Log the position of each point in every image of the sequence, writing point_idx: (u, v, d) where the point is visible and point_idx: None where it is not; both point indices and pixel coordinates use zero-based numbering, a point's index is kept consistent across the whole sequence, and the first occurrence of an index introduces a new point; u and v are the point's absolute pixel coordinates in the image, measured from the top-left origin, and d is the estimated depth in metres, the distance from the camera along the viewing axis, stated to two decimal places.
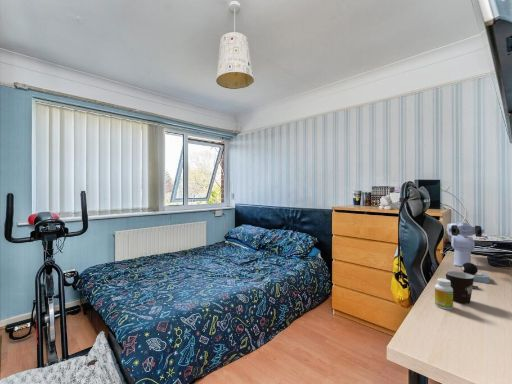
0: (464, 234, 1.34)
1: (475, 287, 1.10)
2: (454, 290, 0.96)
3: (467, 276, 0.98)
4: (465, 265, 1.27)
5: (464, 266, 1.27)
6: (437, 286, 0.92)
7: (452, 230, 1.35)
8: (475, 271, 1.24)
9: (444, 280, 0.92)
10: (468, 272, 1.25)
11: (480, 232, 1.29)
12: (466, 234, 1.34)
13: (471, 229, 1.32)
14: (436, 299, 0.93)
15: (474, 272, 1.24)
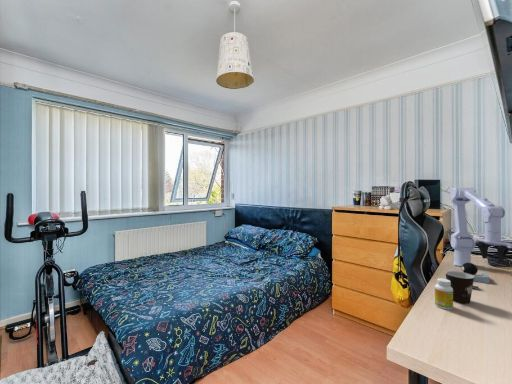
0: None
1: (475, 287, 1.10)
2: (454, 290, 0.96)
3: (467, 276, 0.98)
4: (465, 265, 1.27)
5: (464, 266, 1.27)
6: (437, 286, 0.92)
7: None
8: (475, 271, 1.24)
9: (444, 280, 0.92)
10: (468, 272, 1.25)
11: (506, 248, 1.15)
12: None
13: (497, 244, 1.17)
14: (436, 299, 0.93)
15: (474, 272, 1.24)
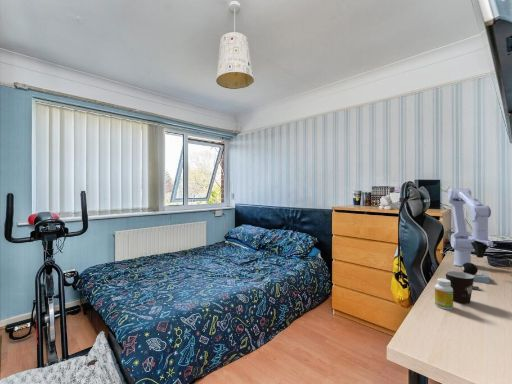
0: None
1: (476, 288, 1.09)
2: (454, 290, 0.96)
3: (467, 276, 0.98)
4: (465, 265, 1.27)
5: (464, 266, 1.27)
6: (437, 286, 0.92)
7: None
8: (475, 271, 1.24)
9: (444, 280, 0.92)
10: (468, 272, 1.25)
11: None
12: None
13: (481, 242, 1.23)
14: (436, 299, 0.93)
15: (474, 272, 1.24)
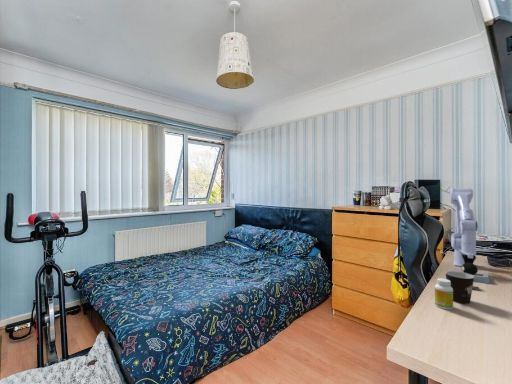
0: None
1: (476, 288, 1.09)
2: (454, 290, 0.96)
3: (467, 276, 0.98)
4: (465, 265, 1.27)
5: (464, 266, 1.27)
6: (437, 286, 0.92)
7: None
8: (475, 271, 1.24)
9: (444, 280, 0.92)
10: (468, 272, 1.25)
11: (470, 257, 1.28)
12: None
13: (467, 254, 1.29)
14: (436, 299, 0.93)
15: (474, 272, 1.24)
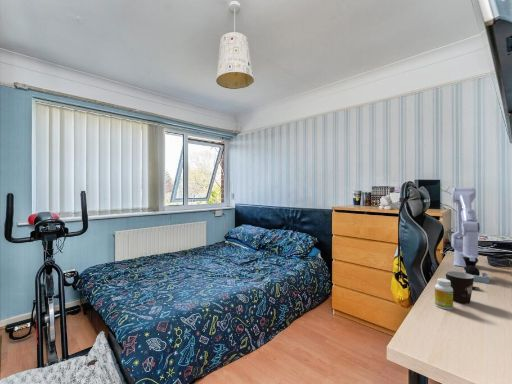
0: None
1: (476, 288, 1.09)
2: (454, 290, 0.96)
3: (467, 276, 0.98)
4: (467, 268, 1.22)
5: (466, 269, 1.22)
6: (437, 286, 0.92)
7: None
8: (477, 274, 1.19)
9: (444, 280, 0.92)
10: None
11: (472, 260, 1.24)
12: None
13: (469, 257, 1.24)
14: (436, 299, 0.93)
15: (476, 275, 1.19)
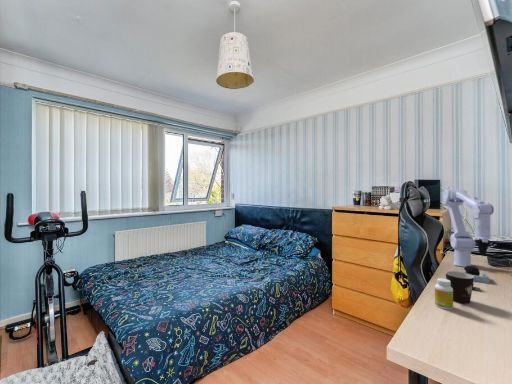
0: None
1: (477, 289, 1.08)
2: (454, 290, 0.96)
3: (467, 276, 0.98)
4: (467, 268, 1.22)
5: (465, 269, 1.22)
6: (437, 286, 0.92)
7: None
8: (477, 274, 1.19)
9: (444, 280, 0.92)
10: None
11: (484, 242, 1.25)
12: (488, 238, 1.25)
13: (481, 239, 1.25)
14: (436, 299, 0.93)
15: (476, 275, 1.19)
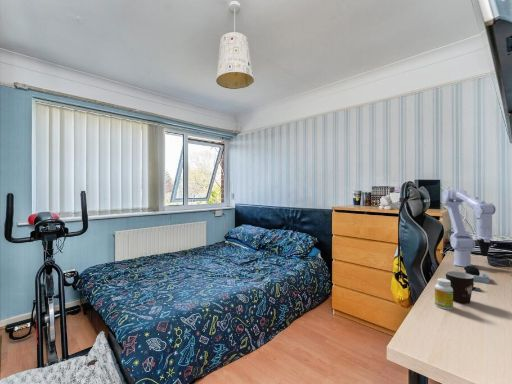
0: None
1: (477, 289, 1.08)
2: (454, 290, 0.96)
3: (467, 276, 0.98)
4: (467, 268, 1.22)
5: (466, 269, 1.22)
6: (437, 286, 0.92)
7: None
8: (477, 274, 1.19)
9: (444, 280, 0.92)
10: None
11: (486, 242, 1.25)
12: (489, 237, 1.25)
13: (483, 239, 1.25)
14: (436, 299, 0.93)
15: (476, 275, 1.19)
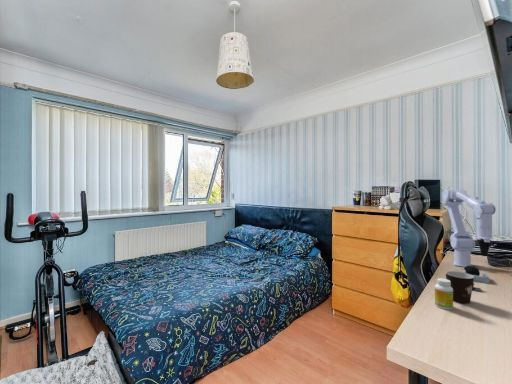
0: None
1: (477, 289, 1.08)
2: (454, 290, 0.96)
3: (467, 276, 0.98)
4: (467, 268, 1.22)
5: (466, 269, 1.22)
6: (437, 286, 0.92)
7: None
8: (477, 274, 1.19)
9: (444, 280, 0.92)
10: None
11: (486, 242, 1.25)
12: (489, 237, 1.25)
13: (483, 239, 1.25)
14: (436, 299, 0.93)
15: (476, 275, 1.19)
